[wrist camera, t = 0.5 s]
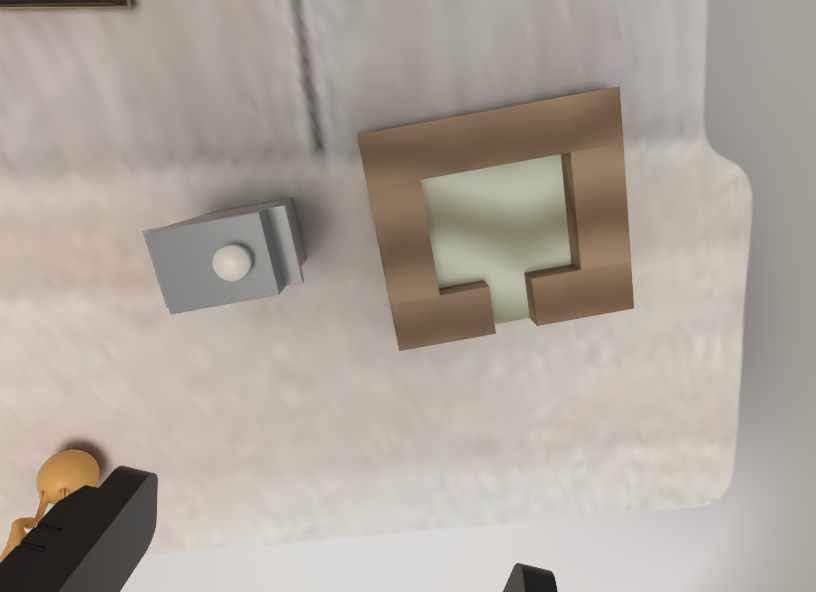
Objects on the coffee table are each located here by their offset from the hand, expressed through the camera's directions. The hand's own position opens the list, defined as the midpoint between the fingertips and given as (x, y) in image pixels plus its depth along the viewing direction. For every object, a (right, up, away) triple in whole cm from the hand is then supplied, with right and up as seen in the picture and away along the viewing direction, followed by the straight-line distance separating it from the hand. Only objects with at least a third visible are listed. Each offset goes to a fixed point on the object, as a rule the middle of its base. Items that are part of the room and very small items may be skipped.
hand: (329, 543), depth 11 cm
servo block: (-9, +10, +26) cm, 29 cm away
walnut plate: (+8, +11, +26) cm, 29 cm away
